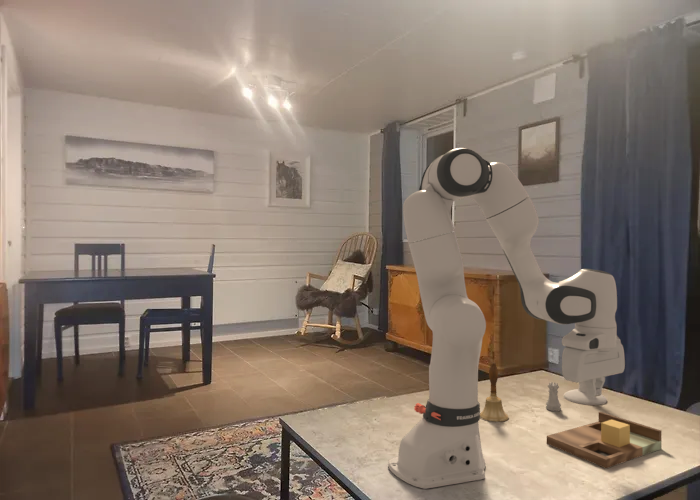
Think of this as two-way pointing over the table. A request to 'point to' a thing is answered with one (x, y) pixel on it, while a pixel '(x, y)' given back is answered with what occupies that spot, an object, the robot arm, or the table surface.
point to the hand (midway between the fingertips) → (594, 395)
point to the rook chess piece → (553, 398)
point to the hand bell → (493, 400)
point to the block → (615, 433)
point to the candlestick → (584, 396)
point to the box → (592, 449)
